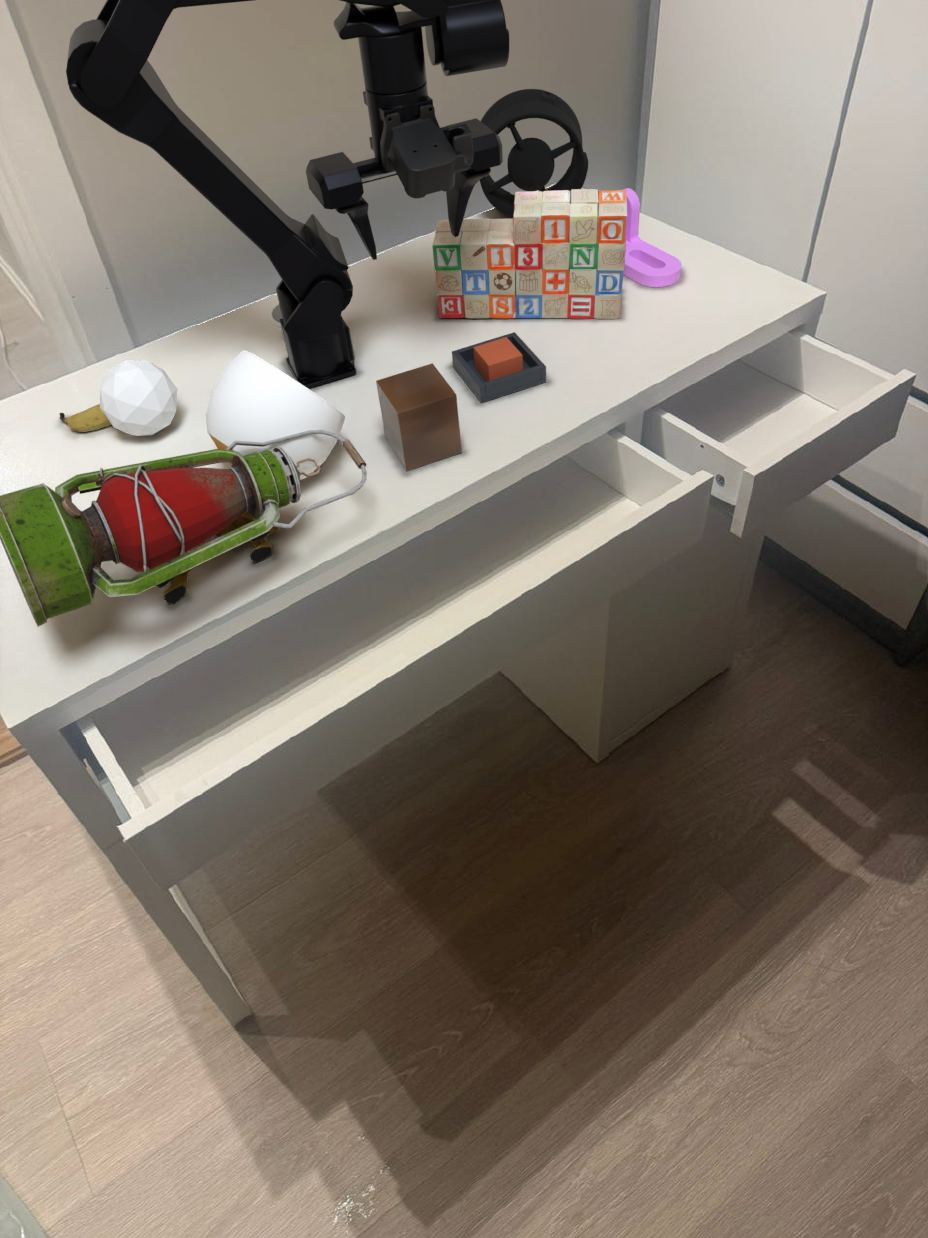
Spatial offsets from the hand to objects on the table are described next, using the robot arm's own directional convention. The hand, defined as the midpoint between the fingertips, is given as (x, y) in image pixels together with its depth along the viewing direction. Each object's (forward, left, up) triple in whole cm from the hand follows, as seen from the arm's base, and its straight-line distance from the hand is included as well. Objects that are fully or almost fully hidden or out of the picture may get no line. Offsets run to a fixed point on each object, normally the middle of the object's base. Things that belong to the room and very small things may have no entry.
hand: (414, 246), depth 96 cm
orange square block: (+5, -9, -12) cm, 15 cm away
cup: (-25, -15, -9) cm, 31 cm away
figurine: (-31, -26, -10) cm, 42 cm away
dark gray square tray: (+5, -9, -12) cm, 16 cm away
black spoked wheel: (+22, +17, -5) cm, 29 cm away
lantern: (-45, -27, -1) cm, 52 cm away
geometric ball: (-32, 0, -12) cm, 34 cm away
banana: (-36, +2, -11) cm, 38 cm away
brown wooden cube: (-7, -16, -12) cm, 22 cm away
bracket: (+30, +4, -12) cm, 32 cm away
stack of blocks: (+14, +2, -12) cm, 19 cm away
